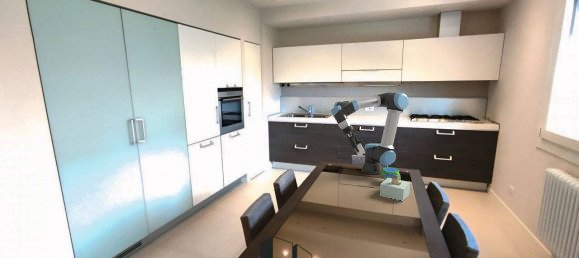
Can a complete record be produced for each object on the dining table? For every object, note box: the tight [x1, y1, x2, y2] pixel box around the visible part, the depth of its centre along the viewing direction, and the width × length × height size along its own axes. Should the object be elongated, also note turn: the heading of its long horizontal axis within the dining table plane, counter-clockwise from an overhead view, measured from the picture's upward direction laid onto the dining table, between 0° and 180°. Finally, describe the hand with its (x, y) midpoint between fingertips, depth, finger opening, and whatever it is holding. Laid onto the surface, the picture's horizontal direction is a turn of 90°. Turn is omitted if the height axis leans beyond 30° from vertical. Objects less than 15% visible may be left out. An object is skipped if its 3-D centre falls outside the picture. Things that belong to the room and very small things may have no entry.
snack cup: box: [380, 166, 402, 181], centre depth 184 cm, size 16×10×10 cm
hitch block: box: [379, 178, 411, 202], centre depth 164 cm, size 14×14×8 cm
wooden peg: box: [392, 174, 399, 185], centre depth 164 cm, size 4×4×12 cm
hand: (362, 154), depth 173 cm, fingers open, 13 cm apart
